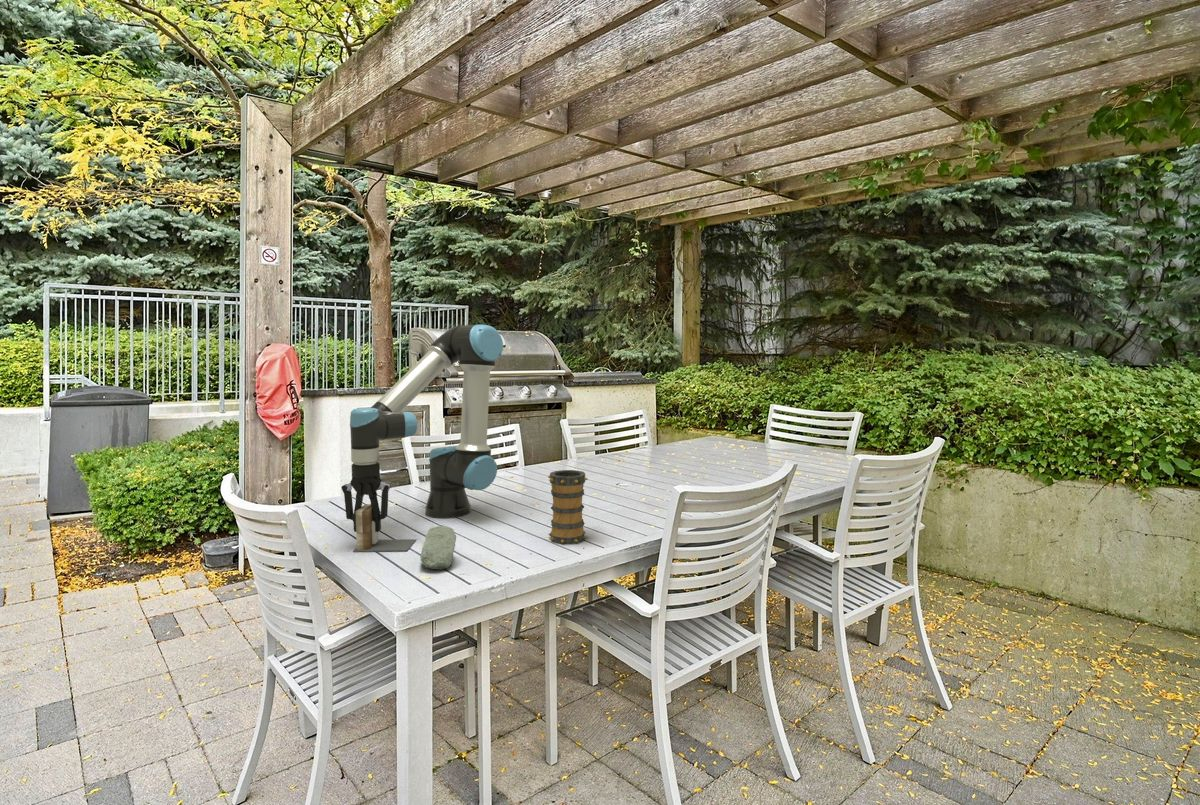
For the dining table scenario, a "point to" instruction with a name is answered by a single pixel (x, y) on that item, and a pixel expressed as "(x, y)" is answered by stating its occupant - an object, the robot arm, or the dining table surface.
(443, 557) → the decorative stone
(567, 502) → the mug
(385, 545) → the mat
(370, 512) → the slab
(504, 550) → the dining table surface
